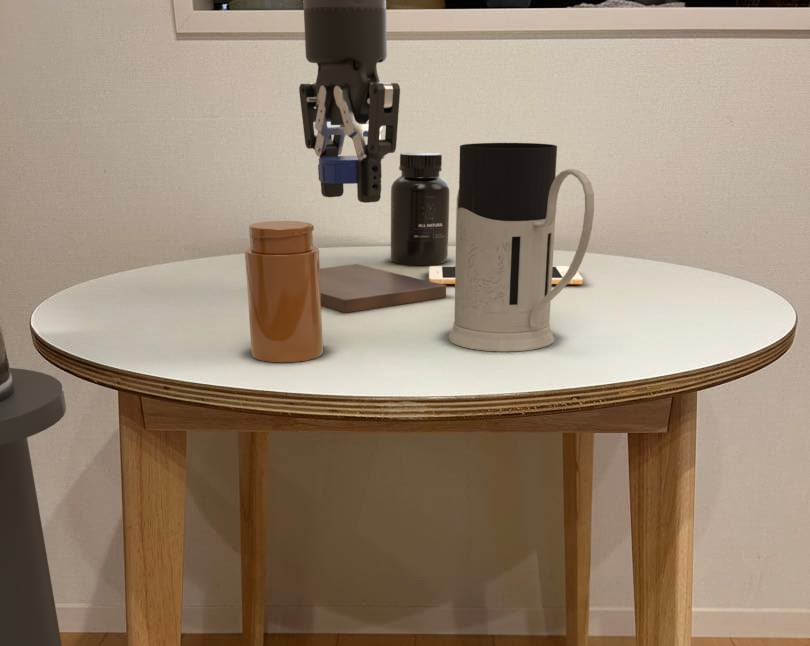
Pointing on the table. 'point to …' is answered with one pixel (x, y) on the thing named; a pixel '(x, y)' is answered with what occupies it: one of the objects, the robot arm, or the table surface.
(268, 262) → the jar
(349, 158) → the jar lid
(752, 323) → the table surface
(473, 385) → the table surface
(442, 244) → the supplement bottle
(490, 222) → the glass holder
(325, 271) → the serving board
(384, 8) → the robot arm
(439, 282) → the cell phone
